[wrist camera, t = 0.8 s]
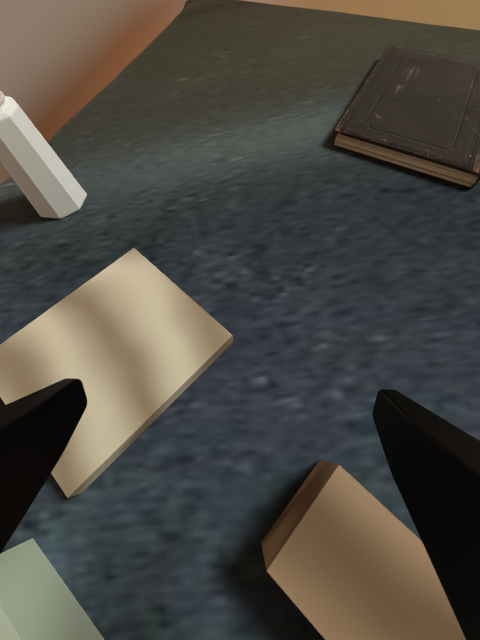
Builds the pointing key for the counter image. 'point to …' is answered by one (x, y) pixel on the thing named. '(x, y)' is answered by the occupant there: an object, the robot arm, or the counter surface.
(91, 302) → the birch board
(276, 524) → the walnut block
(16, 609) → the green block
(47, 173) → the salt shaker
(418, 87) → the hardcover book
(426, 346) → the counter surface
